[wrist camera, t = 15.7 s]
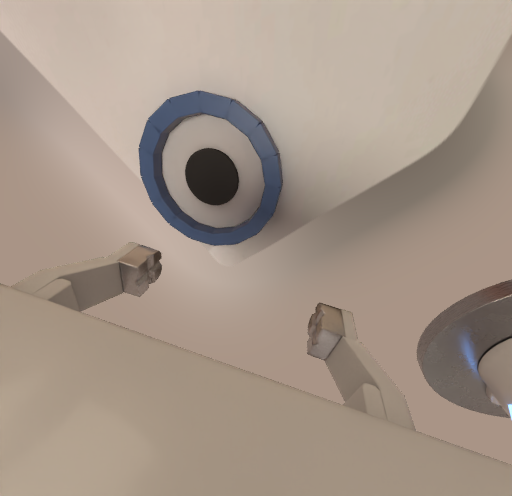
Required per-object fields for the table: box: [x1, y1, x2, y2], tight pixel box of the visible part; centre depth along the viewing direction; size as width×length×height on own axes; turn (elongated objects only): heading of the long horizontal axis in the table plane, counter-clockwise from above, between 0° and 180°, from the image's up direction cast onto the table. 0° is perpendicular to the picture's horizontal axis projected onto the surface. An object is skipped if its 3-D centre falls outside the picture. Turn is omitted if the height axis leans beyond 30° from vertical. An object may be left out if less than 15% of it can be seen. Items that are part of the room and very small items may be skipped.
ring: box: [139, 91, 283, 246], centre depth 24 cm, size 15×15×2 cm
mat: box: [185, 148, 239, 205], centre depth 24 cm, size 6×6×1 cm
